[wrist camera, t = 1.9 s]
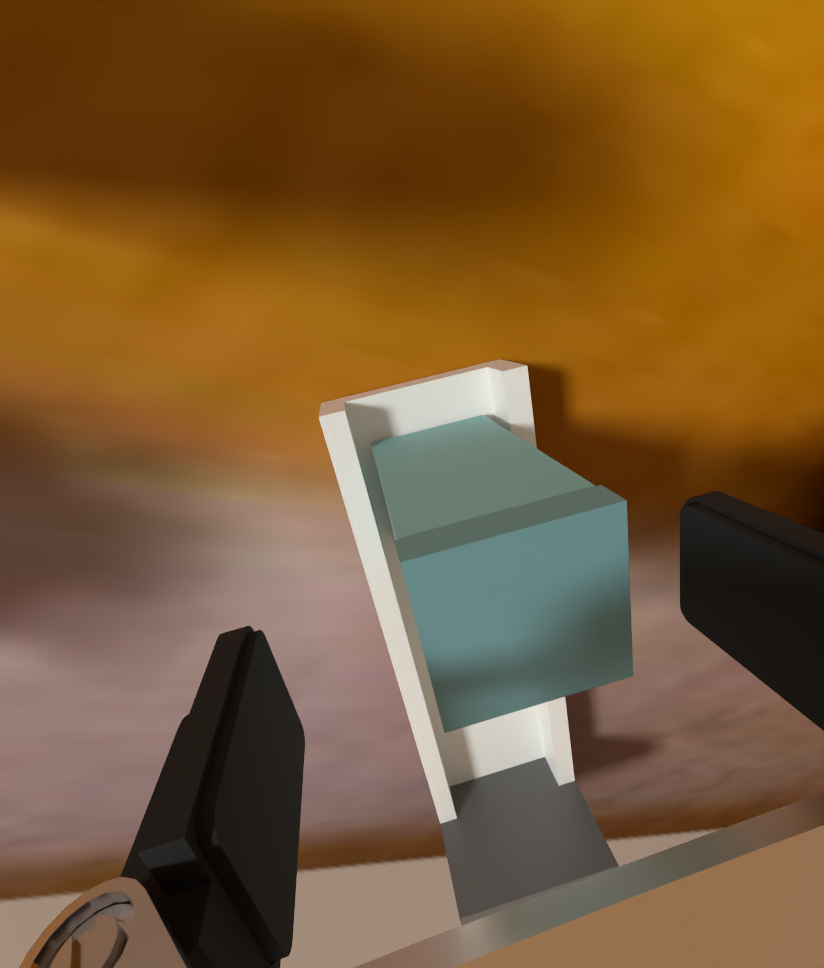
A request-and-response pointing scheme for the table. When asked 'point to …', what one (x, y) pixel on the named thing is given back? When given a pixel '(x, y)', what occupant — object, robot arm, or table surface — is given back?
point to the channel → (445, 756)
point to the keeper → (506, 569)
